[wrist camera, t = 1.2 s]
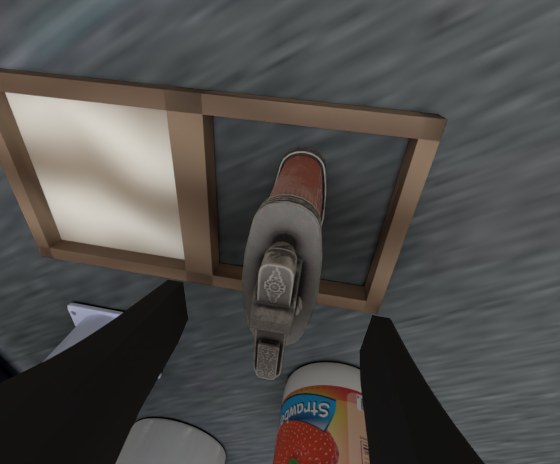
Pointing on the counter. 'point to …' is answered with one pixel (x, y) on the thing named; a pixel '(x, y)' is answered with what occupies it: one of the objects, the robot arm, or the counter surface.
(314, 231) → the lighter
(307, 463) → the fruit juice
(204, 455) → the utensil holder
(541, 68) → the counter surface
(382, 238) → the tray
